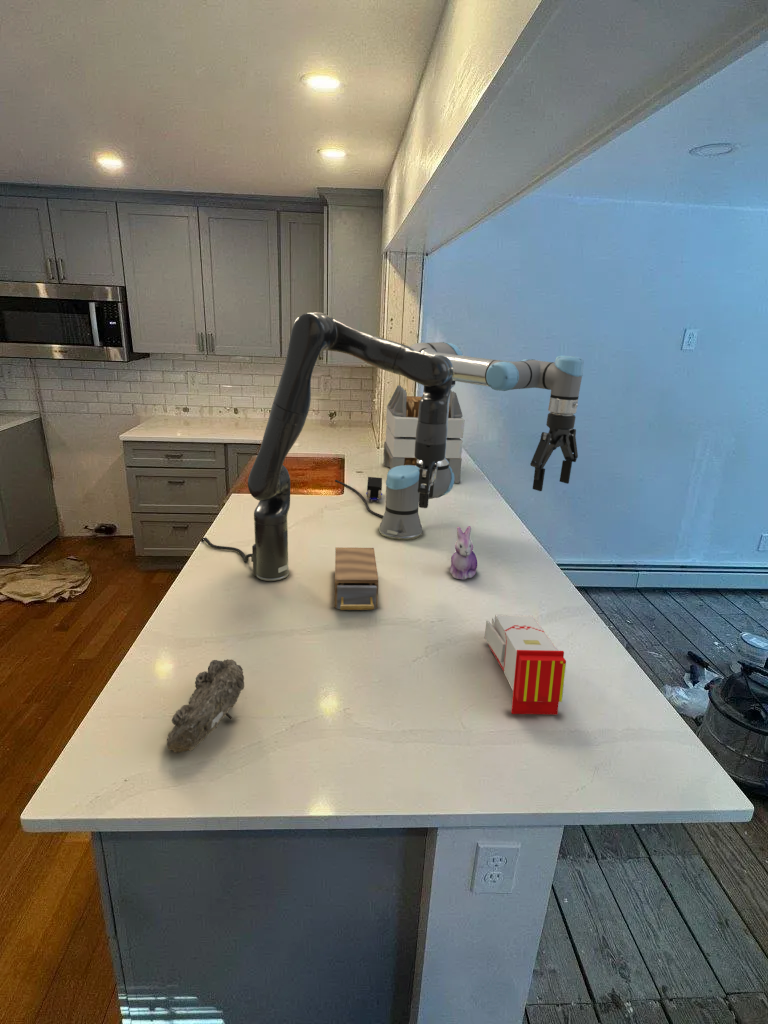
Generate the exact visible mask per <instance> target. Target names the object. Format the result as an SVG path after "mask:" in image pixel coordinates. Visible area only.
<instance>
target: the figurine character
mask: <svg viewBox="0 0 768 1024" xmlns="http://www.w3.org/2000/svg"><path fill="white" fill-rule="evenodd" d="M382 491H383V478H382V477H374V476H368V477H367V484H366V492H365V494H366V499H368V500H369V502H370V503H372V501H376V503H379V499H380V500H381V499H382V496H383V492H382Z"/></svg>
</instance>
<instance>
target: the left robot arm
mask: <svg viewBox="0 0 768 1024" xmlns="http://www.w3.org/2000/svg"><path fill="white" fill-rule="evenodd" d="M325 351H329V352H330V351H331V352H337V353H342V354H346V355H349V356H352V357H354V358H357V359H359V360H361V361H363V362H364V363H366V364H368V365H370V366H372V367H375V368H377V369H379V370H382V371H386V372H389V373H392V374H395V375H398V376H402V377H405V378H407V379H408V380H410V381H412V382H414V383H417V384H419V385H421V386H423V385H424V386H423V393H422V395H421V397H422V398H421V400H420V403H419V411H418V423H417V428H416V440H415V455H414V456H415V458H416V459H418V460H422V461H423V464H422V466H420V470H419V484H418V493H420V497H419V508H421V509H427V508H428V507H429V500H430V499H429V498H432V497H433V491H434V484H433V483H435V479H436V477H437V468H438V466H437V462H438V461H442V460H444V458H445V449H446V437H447V414H448V399H449V395H450V390H451V391H452V388H451V385H452V379H453V366H452V363H451V361H450V360H449V359H448V358H447V357H445V356H443V355H435V356H431V355H427V354H424V353H421V352H418V351H414V349H413V348H411V347H410V346H409V345H406V344H404V343H400V342H396V341H394V340H391V339H387V338H384V337H380V336H377V335H373V334H370V333H366V332H364V331H361V330H358V329H356V328H354V327H351V326H349V325H347V324H345V323H342V322H341V321H340V320H337V319H335V318H334V317H331V316H330V315H328V314H326V313H323V312H313V311H312V312H311V311H310V312H304V313H302V314H300V315H299V316H298V317H297V318H296V319H295V320H294V322H293V324H292V327H291V331H290V337H289V341H288V346H287V354H286V357H285V358H286V359H285V363H284V366H283V369H282V372H281V376H280V379H279V381H278V386H277V389H276V392H275V396H274V399H273V402H272V405H271V408H270V411H269V416H268V418H267V419H268V420H267V423H266V427H265V430H264V432H263V437H262V441H261V444H260V447H259V449H258V450H259V451H258V452H257V455H256V458H255V460H254V463H253V465H252V467H251V469H250V471H249V475H248V478H247V489H248V492H249V493H250V495H251V496H252V498H254V499H255V500H256V501H258V504H257V505H256V507H255V508H254V511H253V526H254V527H253V528H254V544H253V545H252V546H251V549H252V553H248V554H245V553H244V552H243V551H242V550H241V549H240V548H237V547H233V546H224V545H216V544H214V543H212V542H211V541H210V540H209V538H208V537H206V536H205V538H204V536H203V537H202V538H201V539H200V542H206V544H207V545H208V546H209V547H211V548H212V549H216V550H217V549H218V550H226V551H233V552H237V553H239V554H240V555H241V557H242V559H243V561H244V562H246V563H247V562H249V561H250V560H249V559H251V562H252V574H253V577H256V578H257V579H259V580H261V581H265V582H277V581H281V580H284V579H286V578H287V577H288V576H289V538H288V537H289V535H288V534H289V532H288V531H289V530H288V526H289V525H288V514H289V511H290V508H291V507H290V506H291V476H290V473H289V471H288V469H287V468H286V466H285V465H284V462H285V459H286V458H287V455H288V454H289V452H290V451H291V449H292V447H293V446H294V444H295V443H296V442H297V440H298V438H299V436H300V435H301V433H302V431H303V428H304V427H305V423H306V421H307V418H308V415H309V412H310V408H311V403H312V390H311V389H312V387H311V384H312V381H311V380H312V375H313V372H314V368H315V365H316V363H317V360H318V358H319V355H320V354H321V352H325ZM423 485H425V488H422V486H423ZM432 499H433V498H432ZM203 539H204V540H203Z"/></svg>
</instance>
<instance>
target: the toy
mask: <svg viewBox="0 0 768 1024" xmlns="http://www.w3.org/2000/svg"><path fill="white" fill-rule="evenodd" d="M494 615H495V616H494V617H491V622H490V620H485V621H486V622H485V630H484V640H485V641H486V642H487V646H488V647H489V649H490V651H491V652H492V654H493V656H494V657H495V659H496V661H497V663H498V665H499V667H500V668H501V670H502V671H503V674H504V676H505V678H506V680H507V682H508V684H509V686H510V689H511V690H512V701H511V712H510V713H511V714H512V715H556V716H558V715H559V714H558V713H559V705H560V703H562V702H563V695H564V694H563V693H564V686H565V685H564V683H565V677H566V676H565V675H566V667H567V666H566V665H567V660H566V658H564V656H565V651H564V650H559V649H558V648H557V646H556V645H555V644H554V642H553V641H552V640H551V638H550V637H549V636H548V634H547V633H546V631H544V629H543V628H542V626H541V625H540V623H539V622H538V620H536V618H535V617H534V615H531V614H530V615H527V614H526V615H523V614H519V615H518V614H494Z"/></svg>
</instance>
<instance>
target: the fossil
mask: <svg viewBox="0 0 768 1024" xmlns="http://www.w3.org/2000/svg"><path fill="white" fill-rule="evenodd" d="M243 670H244V669H243V667H242V665H240V664H237V662H236V661H235V660H234V659H232V658H231V659H227V658H226V659H224V660H223V661H222V660H217V659H212V660H211V661H210V663H209V665H208V666H207V671H201V672H199V673H198V674H197V675H196V676H195V680H194V684H195V685H194V687H195V689H194V690H193V693H192V694H191V697H190V698H189V700H188V704H184V705H182V706H181V707H180V709H177V710H176V711H175V713H174V715H173V716H172V718H171V723H172V724H173V727H172V730H171V731H170V732H168V734H167V738H166V741H167V742H166V745H167V749H168V750H169V751H173V752H174V753H176V754H178V753H182V752H188V751H189V752H192V751H193V750H195V748H196V747H197V746H199V744H200V743H201V742H203V741H204V740H205V739H206V738H207V737H208V736H209V735H210V734H211V733H212V732H214V730H215V729H217V727H218V726H219V724H220V722H221V721H222V720H223V719H224V718H225V716H226V717H227V719H229V720H233V717H232V715H230V714H229V710H230V709H231V708H234V706H235V704H236V703H237V702H238V699H239V697H240V695H241V693H242V691H243V690H245V689H244V688H245V675H244V671H243Z"/></svg>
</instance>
